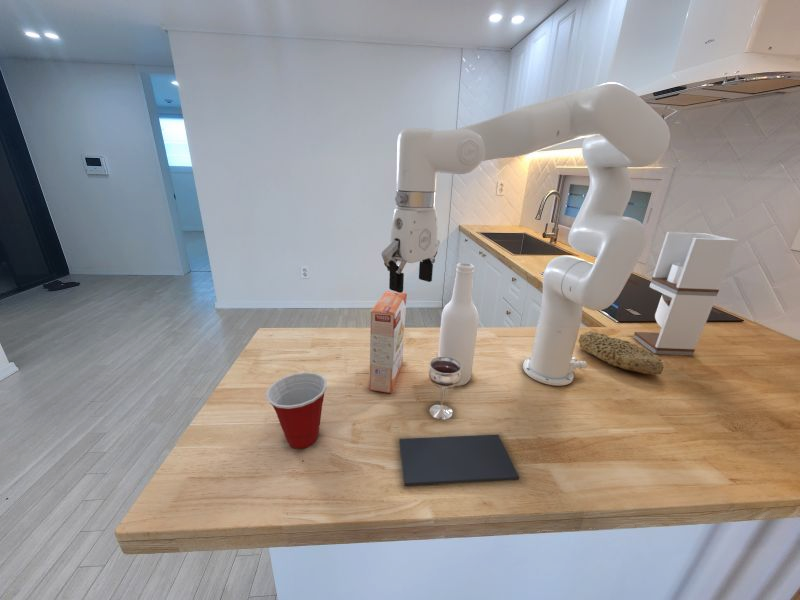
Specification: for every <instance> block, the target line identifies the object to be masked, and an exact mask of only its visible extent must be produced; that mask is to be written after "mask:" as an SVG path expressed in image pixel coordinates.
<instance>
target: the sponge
mask: <svg viewBox="0 0 800 600" xmlns="http://www.w3.org/2000/svg"><path fill="white" fill-rule="evenodd" d="M578 344H579V347H580V348H582V350H583V351H585V352H587V353H589V354H590V355H593V356H595V357H596V358H597V359H599V360H601V361H604V362H605V363H607V364H609V365H612V366H614V367H616V368H617V367H618V368H619V369H623V370H626V371H631V372H635V373H640V374H643V375H658V376H659V375H662V373H663V371H664V368H665V365H663V360H662V359H661V357H659V355H657V354H655V353H653V352H652V351H650V350H647V348H646V349H645V347H644V348H643V347H642V346H639V345H638V344H636V343H633V342H630V341H628V340H624V339H620V338H615V337H611V336H609V335H607V334H605V333H599V332H595V331H591V330H590V331H585V333H583V334H580V335H579V338H578Z"/></svg>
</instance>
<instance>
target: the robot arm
mask: <svg viewBox="0 0 800 600" xmlns="http://www.w3.org/2000/svg"><path fill="white" fill-rule="evenodd" d="M579 139H583V142H582V145H581V153H582V158H583V161H584V162H585V165H586V167H587V171H588V175H589V185H588V190H587V193H586V195H585V197H584V200H583V202H582V204H581V205H580V209H579V210H578V212H577V214H576V217H575V219H574V220H573V223H572V225H571V228H570V230H569V232H568V237H567V242H568V245H569V246H570V247H571V248H572V249H573V250H574V251H576V252H579V253H582V254H584V255H586V256H587V255H588V256H591V257H594V258H595V260H594V262H591V261H589V260H585V259H583V258H579V257H577V256H573V255H560V256H557V257H554V258H553V259H551V260H550V261H549V262H548V263H547V264H546V266H545V268H544V269H543V274H542V299H541V306H540V312H539V316H538V321H537V325H536V330H535V335H534V341H533V346H532V350H531V354H530V357H528V358H526V359H525V360H524V361H523V363H522V370H523V371H524V373H525V374H526V375H527V376H529V378H531V379H533V380H535V381H537V382H539V383H541V384H545V385H549V386H555V387H561V386H567V385H569V384H571V383H572V382H573V381H574V377H575V374H574V371H575V370H577V369H579V370H580V369H581V370H582V369H583V370H585V369H587V368H588V363H587V362H586V361H585V360H583V361H582V360H581V361H580V360H577V357H573V354H574V350H575V346H576V343H577V340H578V334H579V331H580V327H581V323H582V319H583V308H584V309H586V310H590V311H595V312H596V311H597V312H598V311H599V312H600V311H603V310H606V309H609V307H610V306H612V305H613V304H614V303H615V302H616V300H617V299H618V298H619V297H620V295H621V293H622V291H623V289H624V288H625V286H626V284H627V282H628V280H629V278H630V277H631V275H632V273H633V271H634V269H635V267H636V266H637V264H638V262H639V260H640V258H641V256H642V255H643V252H644V250H645V248H646V244H647V230H646V227H645V226H644V224H643V223H642V222H641V221H639V220H638V219H636V218H633V217H631V216H624V213H625V211H626V209H627V206H628V205H629V203H630V200H631V196H632V193H633V182H632V178H631V174H630V171H629V168H644V167H648V166H650V165H653V164H655V163H656V162H658V161H659V160H660V159H661V158H662V157H663V156H664V155H665V153H666V152H667V150H668V149H669V145H670V141H671V131H670V127H669V126H668V124H667V121H666V120H665V119H664V118H663V117H662V116H661V115H660V114H659V113H658V112H657V111H656V110H655V109H653V107H651V106H650V105H649V104H648V103H647V102H646V101H645V100H644V99H642V98H641V97H640V96H639V95H638V94H637V93H636V92H634V91H632V89H630V88H628V87H627V86H625V85H624V84H621V83H619V82H613V81H612V82H611V81H610V82H605V83H601V84H597V85H594V86H590V87H586V88H582V89H579V90H575V91H572V92H568V93H564V94H562V95H558V96H554V97H552V98H548V99H544V100H542V101H538V102H534V103H531V104H528V105H524V106H520V107H518V108H515V109H512V110H509V111H506V112H504V113H502V114H499V115H497V116H494V117H491V118H489V119H485V120H482V121H480V122H476V123H473V124H469V125H466V126H464V127H463V126H462V127H460V128H459V127H458V128H456V129H450V130H449V129H447V130H435V129H431V128H426V127H408V128H407V127H406V128H403V129H402V130H400V132H399V133H398V135H397V148H396V149H397V152H396V181H395V182H396V183H395V184H396V185H395V198H394V200H395V208H394V210H393V211H394V212H393V216H392V223H391V230H390V232H391V233H390V243H389V245H388V246H386V248H384V249H383V250H382V252H381V258H382V260H383V265H384V266H385V267H386V270H387V271H388V272H389V281H388V282H389V283H388V287H389V291H392V292H399V293H401V292H402V293H404V280H405V279H404V278H405V273H404V272H403V270H404V268H405V267H406V265H407V264H414V263H418V262H419V265H418V280H420V281H424V282H428V283H431V282H432V281H433V270H434V263H436V256H437V255H438V250H439V247H440V245H441V242H440V240H439V239H438V214H437V209H436V195H437V180H438V179H437V178H438V173H439V174H451V175H465V174H469V173H471V172H474V171H475V170H476V169H478V168H479V167H480V166H481V164H482V163H483V162H486V161H491V160H497V159H498V160H499V159H506V158H507V159H510V158H511V159H512V158H517V157H522V156H526V155H531V154H534V153H536V152H539V151H543V150H545V149H548V148H552V147H555V146H558V145H561V144H565V143H568V142H572V141H575V140H579ZM397 263H398V264H397Z"/></svg>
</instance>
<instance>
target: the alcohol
mask: <svg viewBox="0 0 800 600" xmlns="http://www.w3.org/2000/svg"><path fill="white" fill-rule="evenodd" d="M474 269H475V264H473V263H470V262H458V263H456V269H455V272H456V273H455V279H454V284H453V290H452V294H451V299H450V301H449V302H447V304H445V306H444V307H443V309H442V312H441V318H440V330H439V342H438V354H437V357H450V358H453V359H455V360H457V361H459V362H460V364H461V366H462V368H461V370H460V371H461V378H460V381H459V382H458V384H457V385H456V386H455V387H459V386H465V385H466V384H467V383H468V382H469V381H470V380H471V379H472V373H473V366H474V357H475V352H476V351H475V350H476V342H477V337H478V327H479V320H480V316H479V310H478V309H477V307H476V305H475V304H474V301H473V284H474V283H473V282H474V274H475V270H474Z"/></svg>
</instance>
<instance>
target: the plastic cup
mask: <svg viewBox="0 0 800 600" xmlns="http://www.w3.org/2000/svg"><path fill="white" fill-rule="evenodd" d="M327 388H328V381H327V379H326V378H325V377H324V376H323V375H322V374H319V373H317V372H308V371H307V372H306V371H304V372H297V373H292V374H289V375H285V376H283V377H281V378H279V379H277V380H276V381H275V382H273V383H272V384H271V385H270V386H269V387H268V388H267V390H266V392H265V393H266V394H265V399H266V400H267V402H268V403H269V405H271V406H272V407H273V409H274V411H275V413H276V416H277V419H278V421H279V424H280V427H281V430H282V432H283V434H284V437H285V441H286V442H287V444H288V445H289V446H290V447H291V448H293V449H297V450H302V449H306V448H308V447H311V446H313V444H314V443H316V441H317V439H318V436H319V433H320V432H319V431H320V426H321V420H322V412H323V403H324V398H325V392H326V391H327Z"/></svg>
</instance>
